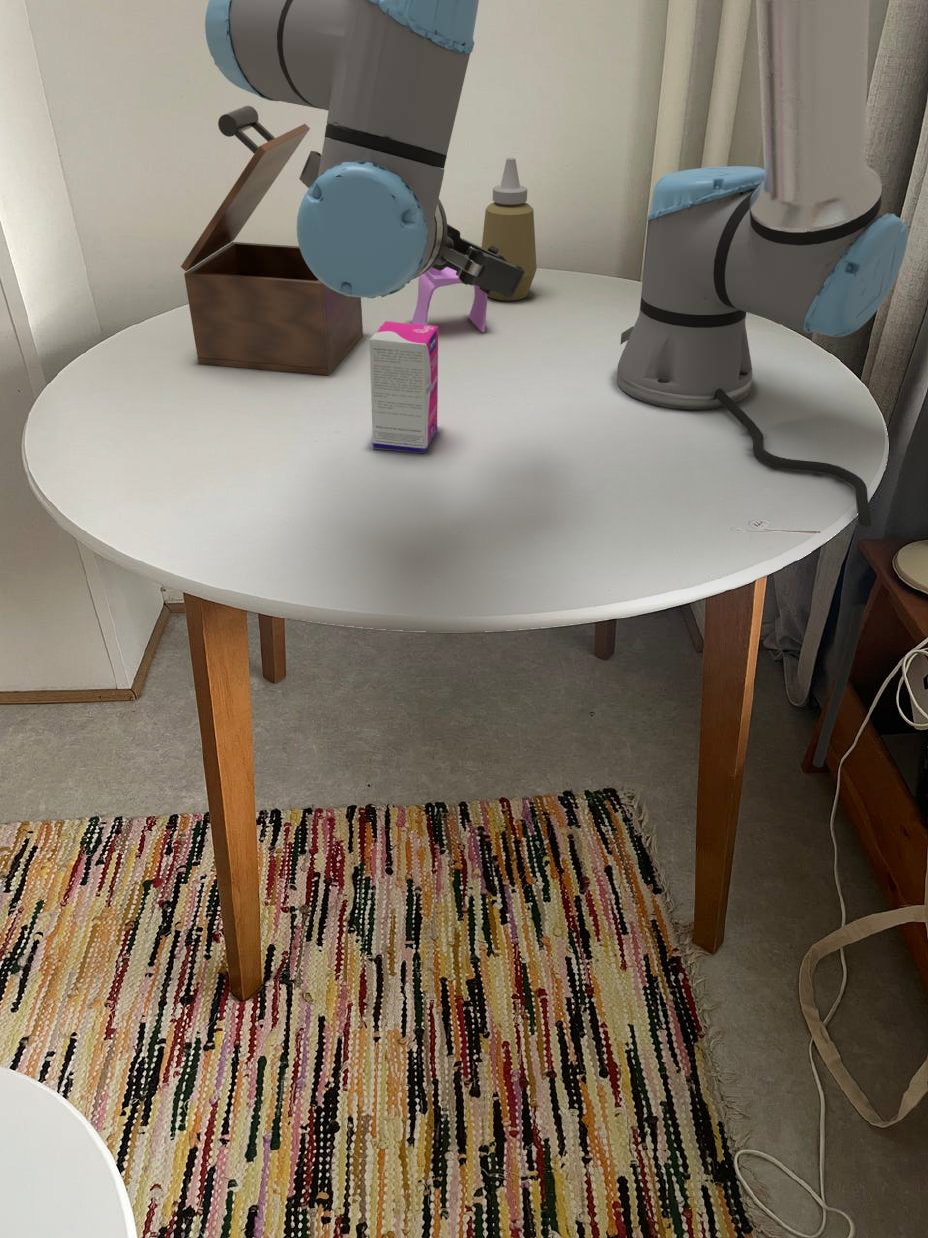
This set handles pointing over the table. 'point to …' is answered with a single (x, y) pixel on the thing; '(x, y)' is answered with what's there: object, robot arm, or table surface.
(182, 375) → the table surface
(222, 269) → the chest
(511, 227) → the squeeze bottle
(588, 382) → the table surface
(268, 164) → the lid
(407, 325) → the supplement box
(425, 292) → the toy chair
